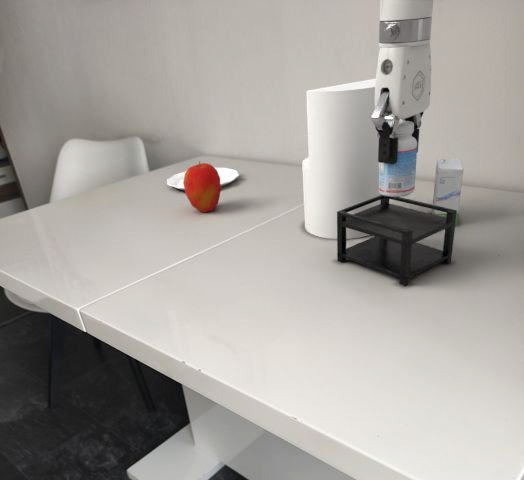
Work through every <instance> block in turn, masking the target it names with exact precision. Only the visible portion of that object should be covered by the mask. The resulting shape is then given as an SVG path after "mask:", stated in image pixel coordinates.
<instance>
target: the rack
mask: <svg viewBox="0 0 524 480" xmlns="http://www.w3.org/2000/svg"><path fill="white" fill-rule="evenodd" d="M378 200H381V204H379V205H376V206H374V207H371V208H369V209H366V210H363V211H361V212H358V213H356V214H353V215H352V214H349V213H346V212H349V211H352V210H354V209H357V208H360V207H362V206H365V205H367V204H370V203H373V202H375V201H378ZM390 200H393V201H397V202H402V203H404V204H405V203H406V204H409V205H413V206H417V207H421V208H426V209H430V210H432V209H434V210H438V211H442V212H446V213H447V216H446V217H442V216H438V215H434V214H432V213H429V212H425V211H422V210H417V209H414V208H410V207H405V206H401V205H397V204H393V203H390ZM456 214H457V210H453V209H449V208H445V207H440V206H436V205H433V203H432V204H431V203H427V202H423V201H419V200H418V201H417V200H415V199H410V198H406V197H388V196H384V195H380V196H377V197H375V198H372V199H369V200H367V201H364V202H361V203H359V204H356V205H353V206H351V207H348V208H345V209H343V210H340V211H337V239H336V243H337V244H336V247H337V248H336V249H337V251H336V255H337V257H336V258H337V262H339V263H345V262H347V260H349V261H352V262H355V263H357V264H360V265H362V266H366V267H369V268H371V269H374V270H377V271H379V272H383V273H385V274H388V275H390V276H393V277H397V278H399V283H398V284H399V285H400V286H403V287H406V286H408V285H410V278H411V277H413V276H416V275H417V274H419V273H421V272H423V271H425V270H427V269H429V268H431V267H433V266H435V265H437V264H439V263H441V264H445V265H449V264H450V263H452V259H453V248H454V240H455V232H456V225H455V223H456ZM346 228H349V229H353V230H356V231H359V232H362V233H366V234H369V235H368V236H373V237H370V238H368V239H365V240H362V241H361V242H358V243H356V244H354V245H351V246H349V247H347V239H346ZM441 231H444V237H443V245H442V246H443V247H442V249H439V248H436V247H433V246H429V245H426V244H422V243H419V242H420V241H422V240H424V239H426V238H428V237H431V236H433V235H435V234H438V233H440V232H441Z"/></svg>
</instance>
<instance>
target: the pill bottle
mask: <svg viewBox="0 0 524 480" xmlns="http://www.w3.org/2000/svg"><path fill="white" fill-rule="evenodd" d="M388 124H389V126H390V127H391V125H392V122H391V121H388ZM413 131H414V123H413V122H411V121H402V120H399V124H398V129H397V133H396V137H395V138H398V153H397V163H395V164H387V163H380V162H379V193H380V194H382V195H384V196H388V197H402V198H404V197H406V196H409V195H412V194H413V193H414V192H415V189H416V188H415V187H416V173H417V158H418V157H417V156H418V152H417V141H416V139H415V138H414V137H412V133H413Z"/></svg>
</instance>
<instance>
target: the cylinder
mask: <svg viewBox="0 0 524 480" xmlns="http://www.w3.org/2000/svg"><path fill="white" fill-rule="evenodd" d="M375 84H376V78H371V79H366V80H359V81H354V82H347V83H343V84H337V85H330V86H324V87H319V88H314V89H309V90H305V92H306V93H305V95H306V96H305V97H306V121H307V122H306V123H307V146H308V149H307V151H308V156H307V157H305V158H304V159H303V160H302V162H301V168H302V189H303V190H302V191H303V192H302V193H303V194H302V195H303V211H304V212H303V214H304V217H303V218H304V229H305V230H306V232H308V233H309V234H310V235H312V236H316V237H318V238H324V239H329V240H330V239H331V240H332V239H333V240H337V211H340V210H343V209H345V208H348V207H351V206H353V205H356V204H359V203H361V202H364V201H367V200H369V199H372V198H375V197H377V196H380V195H382V194H380V193H379V161H378V148H379V138H378V137H377V130H376V128H375V125H374V123H373V121H372V115H373V112H374V110H375ZM387 122H388V123H389V121H387ZM379 204H381V200H378V201H375V202H373V203H370V204H367V205H365V206H362V207H360V208H357V209H354V210H352V211H349V212H346V213H349V214H352V215H353V214H356V213H358V212H361V211H363V210H366V209H369V208H371V207H374V206H376V205H379ZM368 236H370V235H369V234H366V233H362V232H359V231H356V230H353V229H349V228H346V240H350V239H351V240H353V239H358V238H363V237H368Z"/></svg>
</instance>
